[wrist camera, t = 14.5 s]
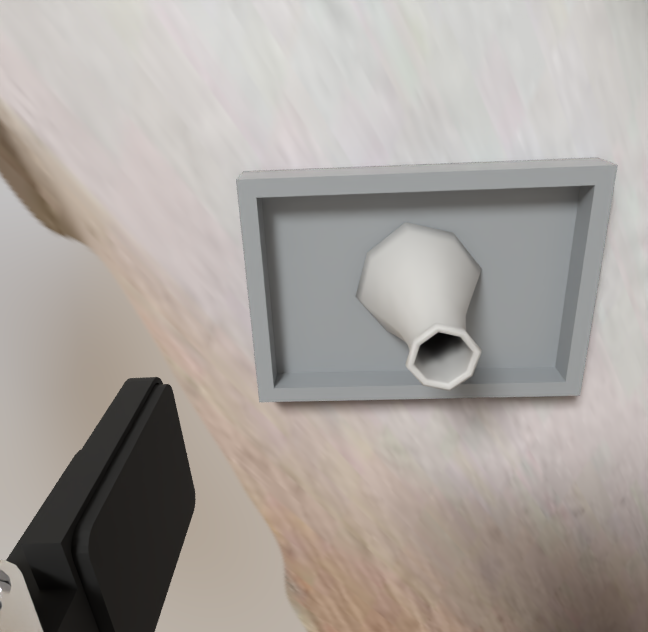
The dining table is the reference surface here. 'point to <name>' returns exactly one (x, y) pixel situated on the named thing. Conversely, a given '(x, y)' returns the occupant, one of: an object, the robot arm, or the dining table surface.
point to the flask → (424, 300)
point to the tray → (439, 213)
